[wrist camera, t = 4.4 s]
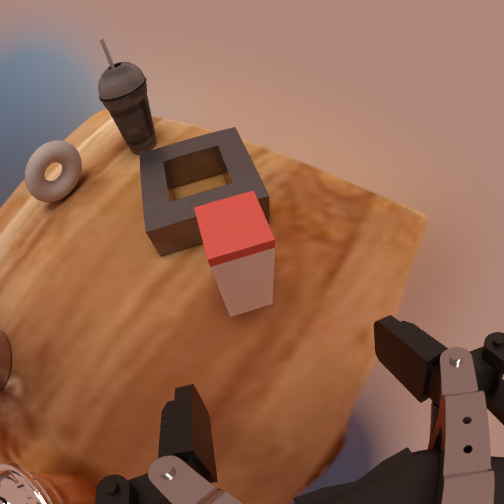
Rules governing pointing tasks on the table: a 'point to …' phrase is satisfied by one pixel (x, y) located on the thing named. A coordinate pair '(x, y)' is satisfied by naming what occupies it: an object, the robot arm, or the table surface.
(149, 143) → the beverage cup
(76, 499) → the cup with straw
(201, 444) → the robot arm
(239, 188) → the square socket housing
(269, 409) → the table surface
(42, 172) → the donut
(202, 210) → the plug peg
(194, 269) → the table surface
